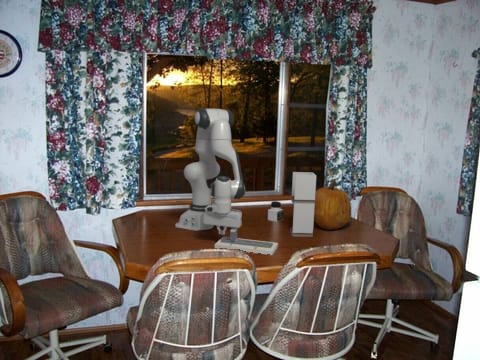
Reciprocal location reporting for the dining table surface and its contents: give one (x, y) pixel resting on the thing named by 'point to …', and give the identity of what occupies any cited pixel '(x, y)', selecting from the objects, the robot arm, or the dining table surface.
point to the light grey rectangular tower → (303, 203)
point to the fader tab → (233, 234)
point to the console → (248, 245)
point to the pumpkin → (331, 207)
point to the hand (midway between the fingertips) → (222, 234)
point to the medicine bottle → (275, 212)
